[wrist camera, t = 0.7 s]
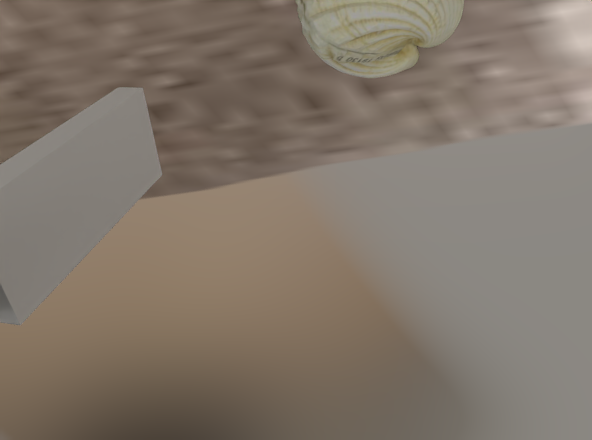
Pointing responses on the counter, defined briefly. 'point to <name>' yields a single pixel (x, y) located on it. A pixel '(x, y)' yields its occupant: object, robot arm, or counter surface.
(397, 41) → the seashell
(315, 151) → the counter surface
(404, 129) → the counter surface
